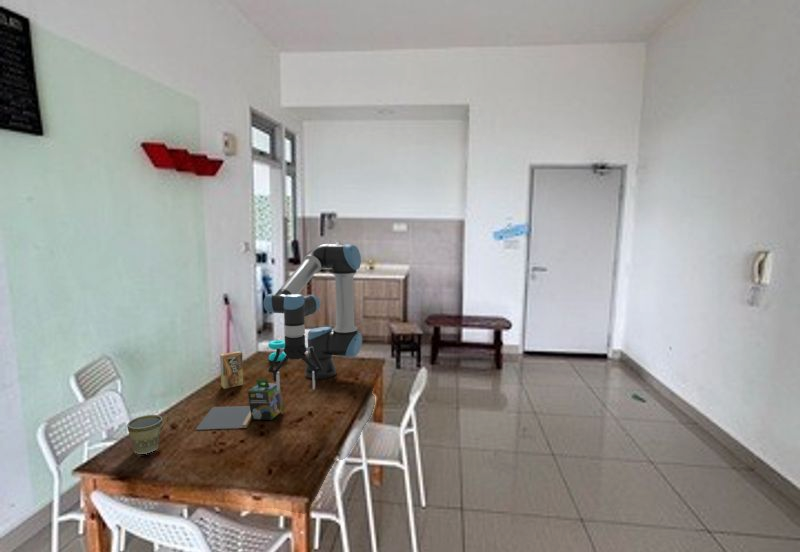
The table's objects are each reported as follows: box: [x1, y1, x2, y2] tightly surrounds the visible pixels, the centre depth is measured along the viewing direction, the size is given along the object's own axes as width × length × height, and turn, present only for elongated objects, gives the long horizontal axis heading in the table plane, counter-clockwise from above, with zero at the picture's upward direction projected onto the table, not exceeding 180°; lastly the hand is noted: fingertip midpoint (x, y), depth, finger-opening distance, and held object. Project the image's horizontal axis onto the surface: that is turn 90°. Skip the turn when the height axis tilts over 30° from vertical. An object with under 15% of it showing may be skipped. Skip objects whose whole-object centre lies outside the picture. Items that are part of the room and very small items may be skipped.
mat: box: [195, 405, 253, 431], centre depth 173 cm, size 18×20×2 cm
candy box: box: [219, 350, 244, 390], centre depth 206 cm, size 9×4×15 cm, turn 129°
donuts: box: [267, 339, 286, 363], centre depth 246 cm, size 10×10×10 cm
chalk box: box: [247, 378, 285, 421], centre depth 174 cm, size 9×9×15 cm
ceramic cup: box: [126, 414, 170, 455], centre depth 149 cm, size 13×10×10 cm
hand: (296, 388), depth 174 cm, fingers open, 13 cm apart
